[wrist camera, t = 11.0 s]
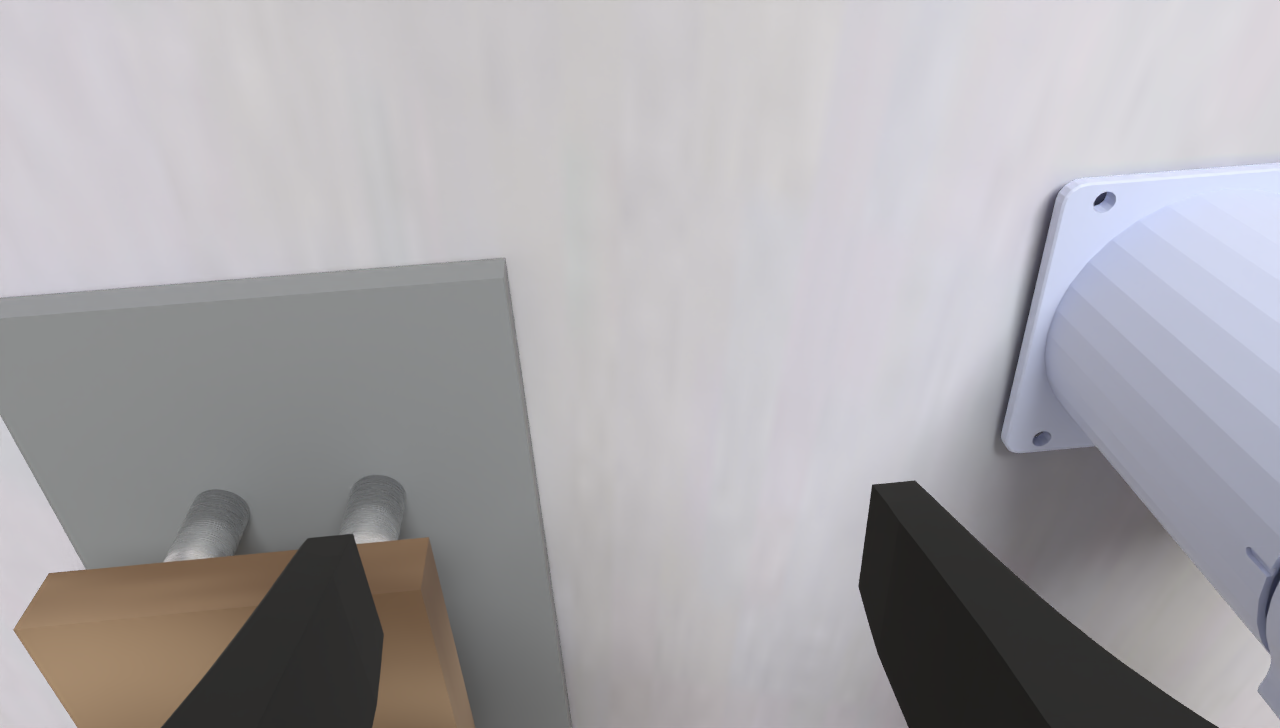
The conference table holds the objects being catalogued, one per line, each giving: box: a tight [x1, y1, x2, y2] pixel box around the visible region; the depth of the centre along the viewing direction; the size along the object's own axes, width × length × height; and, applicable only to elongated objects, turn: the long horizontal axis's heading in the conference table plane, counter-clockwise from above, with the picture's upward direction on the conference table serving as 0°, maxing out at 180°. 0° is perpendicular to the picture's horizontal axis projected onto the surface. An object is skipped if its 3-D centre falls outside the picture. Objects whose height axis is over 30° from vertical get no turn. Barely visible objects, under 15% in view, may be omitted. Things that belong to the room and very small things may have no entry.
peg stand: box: [0, 258, 572, 728], centre depth 24 cm, size 12×22×4 cm, turn 3°
